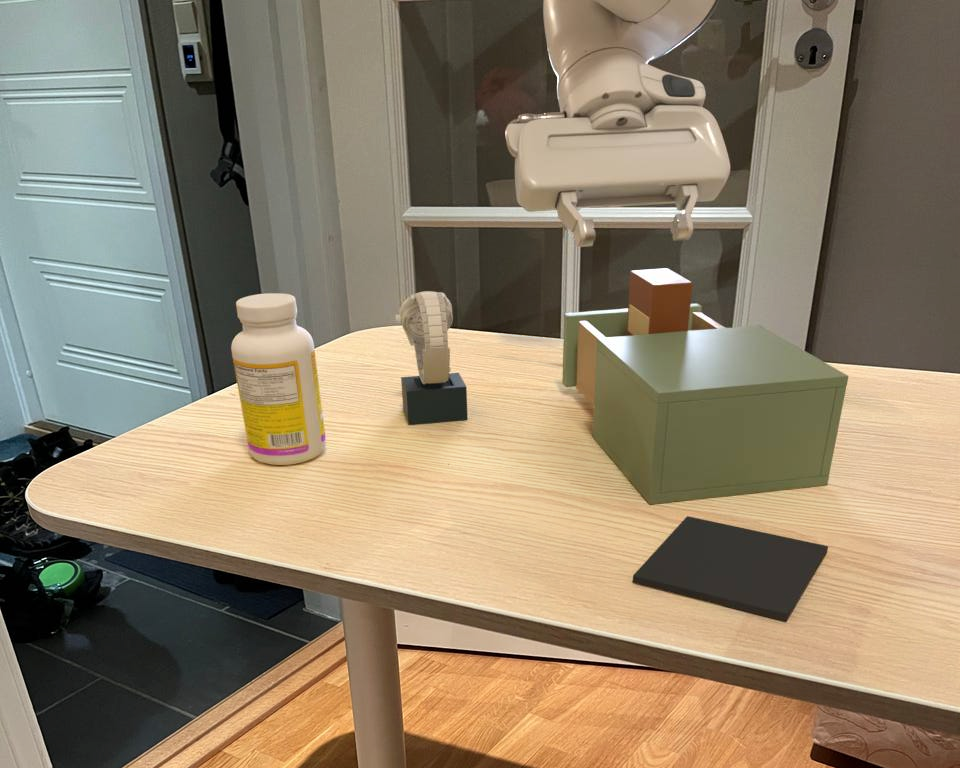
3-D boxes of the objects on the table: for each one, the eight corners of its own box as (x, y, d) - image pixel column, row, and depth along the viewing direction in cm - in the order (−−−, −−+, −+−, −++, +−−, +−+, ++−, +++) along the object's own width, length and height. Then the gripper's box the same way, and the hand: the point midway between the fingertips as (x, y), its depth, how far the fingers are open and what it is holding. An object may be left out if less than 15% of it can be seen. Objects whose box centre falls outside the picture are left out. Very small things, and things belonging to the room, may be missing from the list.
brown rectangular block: (623, 380, 89) (629, 270, 84) (658, 377, 90) (667, 267, 84) (644, 401, 84) (653, 285, 79) (682, 397, 85) (693, 282, 79)
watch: (456, 398, 92) (452, 281, 86) (470, 426, 85) (467, 301, 79) (400, 402, 91) (391, 285, 85) (409, 431, 85) (401, 306, 79)
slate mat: (827, 553, 63) (828, 545, 63) (786, 622, 56) (788, 613, 56) (686, 523, 68) (687, 515, 68) (632, 583, 61) (632, 575, 60)
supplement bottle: (288, 433, 85) (267, 286, 78) (342, 448, 82) (326, 295, 75) (233, 457, 80) (205, 303, 73) (288, 473, 77) (264, 314, 70)
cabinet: (592, 436, 83) (596, 338, 78) (746, 421, 85) (760, 325, 80) (649, 504, 71) (658, 393, 66) (827, 485, 73) (849, 375, 68)
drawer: (551, 371, 96) (552, 302, 92) (675, 360, 98) (681, 293, 94) (603, 431, 81) (607, 352, 77) (748, 417, 83) (758, 340, 79)
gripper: (506, 89, 85) (532, 224, 82) (719, 81, 88) (750, 210, 85) (497, 141, 91) (520, 267, 88) (696, 131, 94) (724, 253, 91)
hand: (635, 239), depth 86 cm, fingers open, 8 cm apart
